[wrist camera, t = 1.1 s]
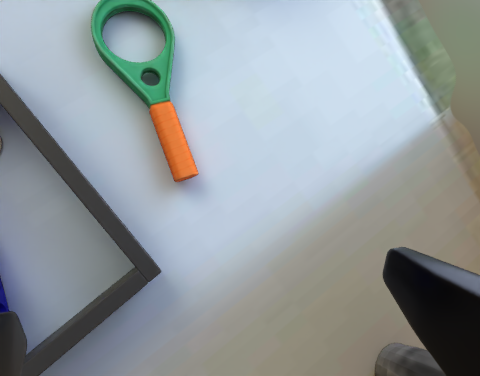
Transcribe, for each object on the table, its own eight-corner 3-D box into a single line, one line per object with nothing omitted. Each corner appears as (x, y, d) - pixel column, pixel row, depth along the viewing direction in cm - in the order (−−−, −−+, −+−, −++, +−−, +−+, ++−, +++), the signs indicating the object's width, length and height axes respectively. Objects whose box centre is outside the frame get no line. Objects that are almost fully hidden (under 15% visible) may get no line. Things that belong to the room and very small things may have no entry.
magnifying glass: (80, 6, 24) (76, -9, 23) (157, -3, 26) (158, -18, 25) (147, 192, 24) (148, 189, 23) (219, 169, 26) (225, 164, 25)
